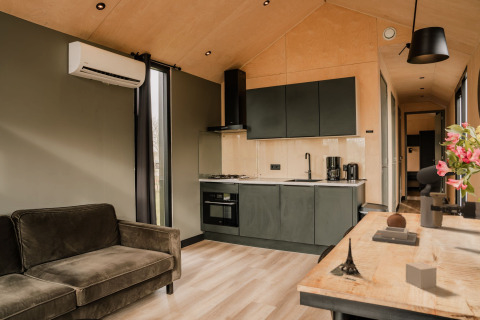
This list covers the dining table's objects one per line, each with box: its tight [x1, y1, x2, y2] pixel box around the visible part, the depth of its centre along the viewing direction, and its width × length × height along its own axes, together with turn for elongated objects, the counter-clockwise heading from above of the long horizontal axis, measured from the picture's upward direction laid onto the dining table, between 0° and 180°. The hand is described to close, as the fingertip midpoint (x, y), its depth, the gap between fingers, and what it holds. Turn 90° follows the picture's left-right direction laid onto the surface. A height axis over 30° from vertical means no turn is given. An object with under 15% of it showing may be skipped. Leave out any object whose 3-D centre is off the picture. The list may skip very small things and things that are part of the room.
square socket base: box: [371, 225, 418, 246], centre depth 162 cm, size 18×18×4 cm
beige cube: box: [405, 261, 438, 290], centre depth 105 cm, size 6×6×6 cm
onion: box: [386, 212, 407, 229], centre depth 178 cm, size 10×9×10 cm
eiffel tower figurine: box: [329, 237, 361, 281], centre depth 117 cm, size 15×10×13 cm
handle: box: [430, 192, 447, 228], centre depth 153 cm, size 5×6×15 cm
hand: (430, 207), depth 155 cm, fingers closed on handle, 3 cm apart
